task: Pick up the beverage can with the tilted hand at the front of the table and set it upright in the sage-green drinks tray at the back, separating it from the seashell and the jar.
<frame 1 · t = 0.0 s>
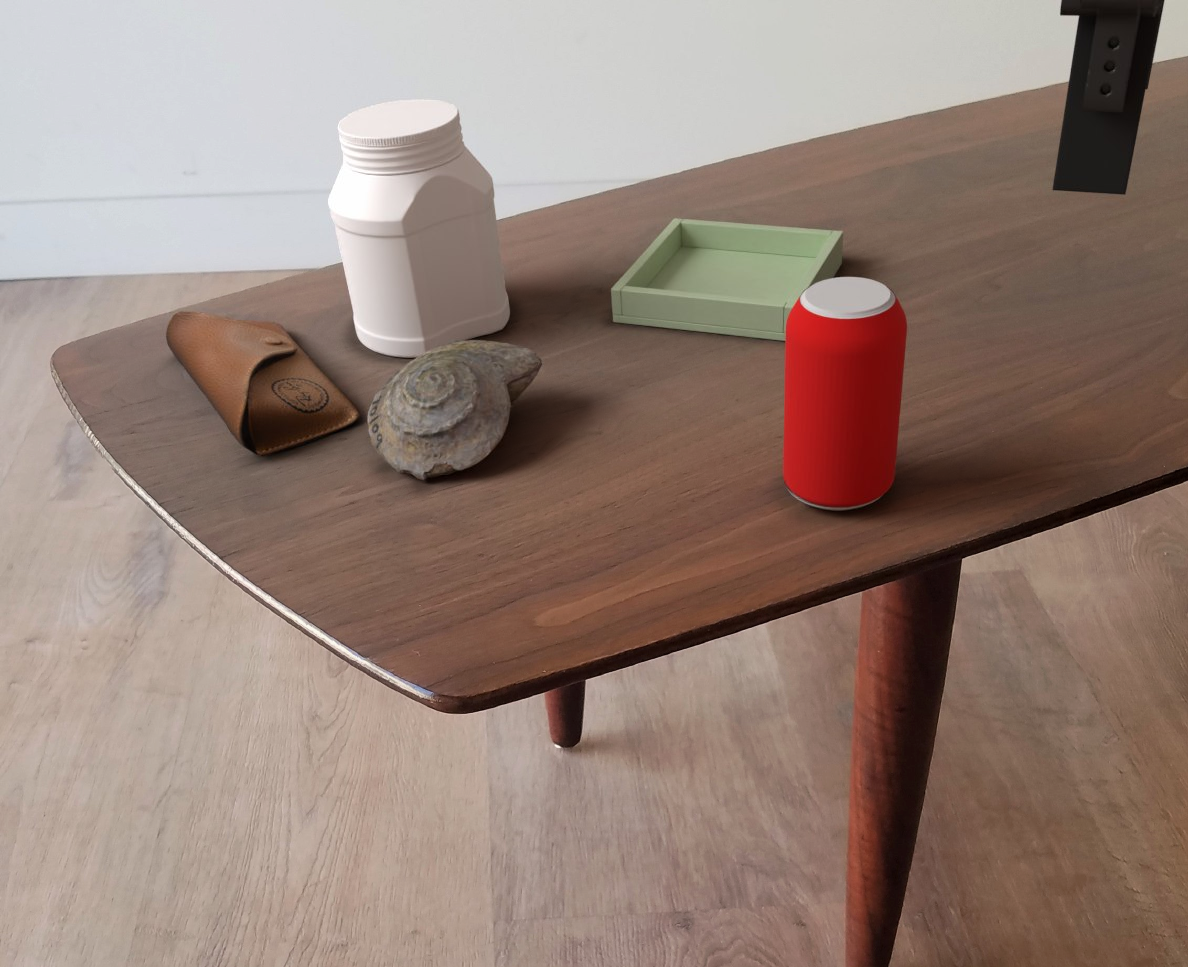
hand: (1104, 134, 53), 21 cm above the table, tool pointing down, fingers open, 13 cm apart
beverage can: (837, 493, 70), on the table
fossilized seashell: (466, 437, 78), on the table
drinks tray: (730, 292, 92), on the table
sunglasses case: (264, 392, 85), on the table
jar: (434, 325, 92), on the table
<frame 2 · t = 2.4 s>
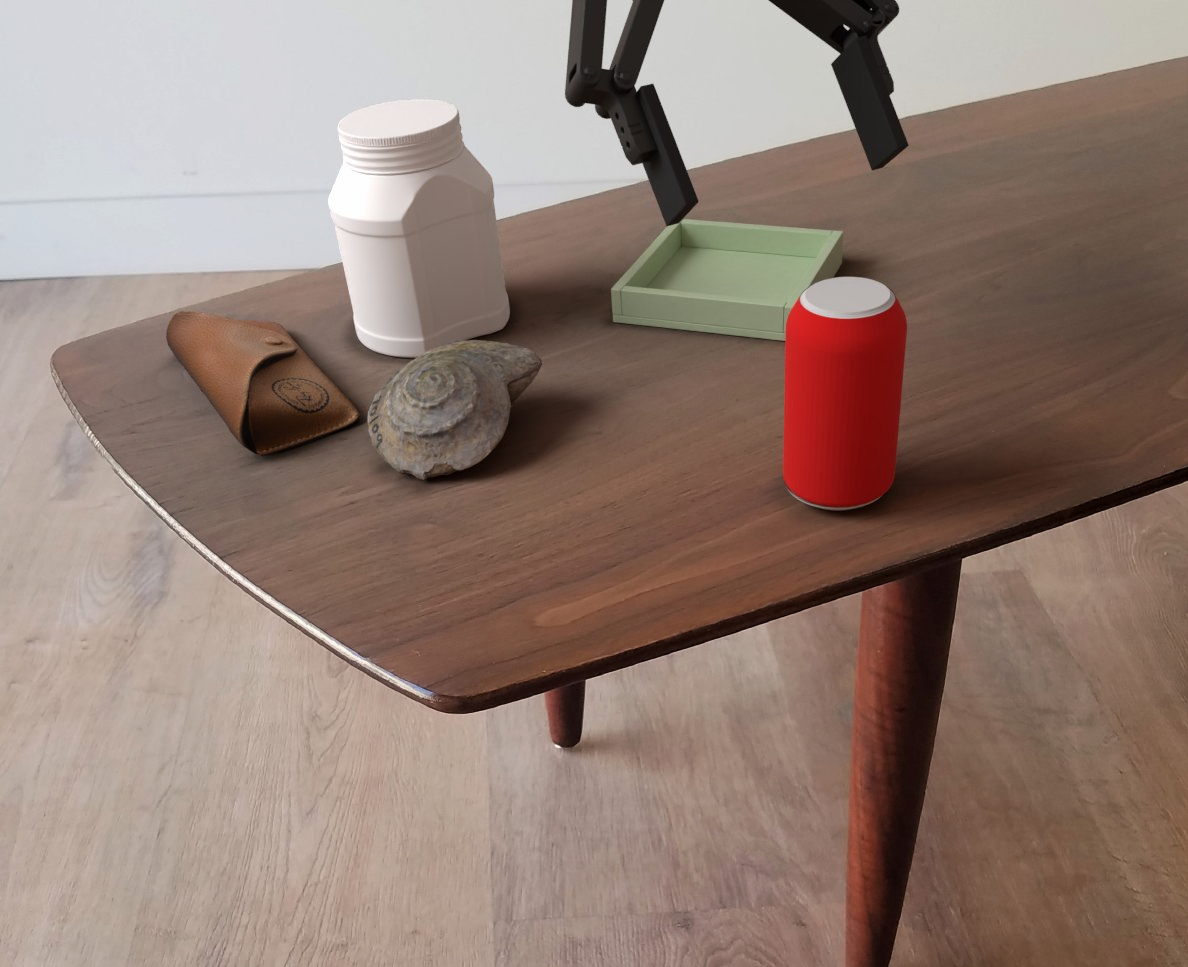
hand: (790, 186, 66), 15 cm above the table, tool tilted 40°, fingers open, 13 cm apart
nothing on the table moved.
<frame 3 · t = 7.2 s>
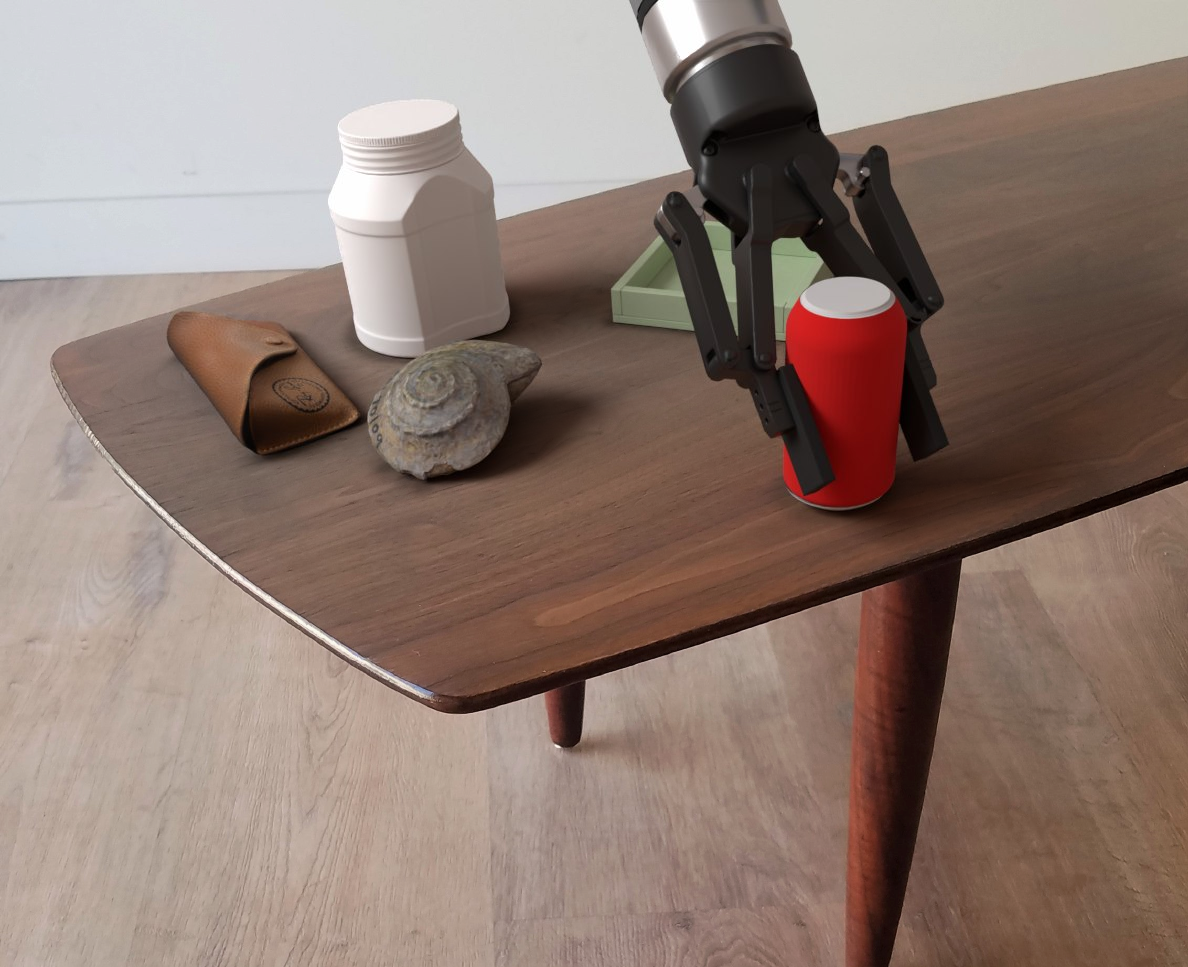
hand: (876, 469, 65), 3 cm above the table, tool tilted 45°, fingers closed on beverage can, 6 cm apart
beverage can: (837, 493, 70), on the table, touching gripper
everything else where it was.
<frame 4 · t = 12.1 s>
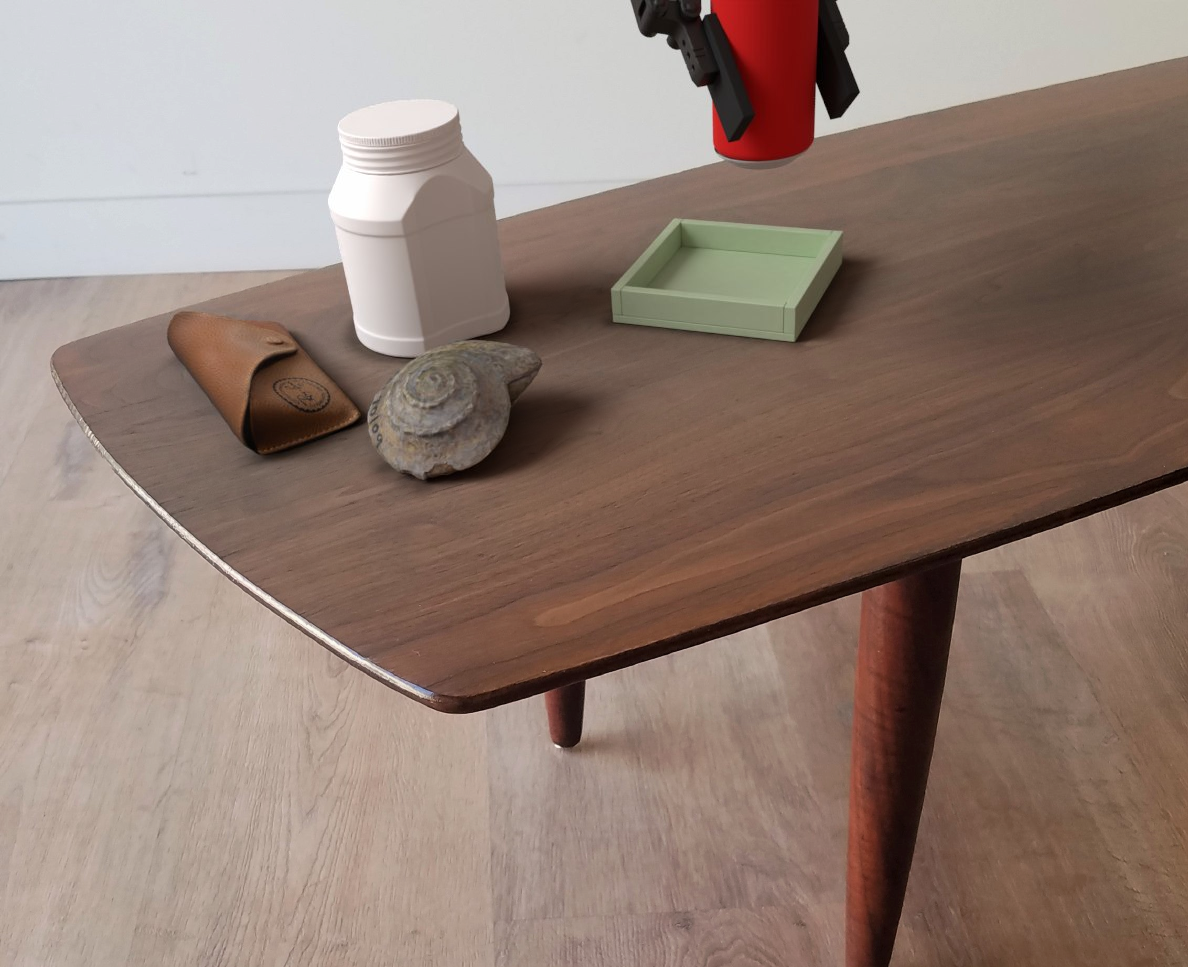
hand: (793, 116, 72), 16 cm above the table, tool tilted 45°, fingers closed on beverage can, 6 cm apart
beverage can: (763, 161, 76), point 13 cm above the table, touching gripper
everything else where it was.
when the fingers open (4 cm above the table, at t = 17.0 s): beverage can stays where it is, resting on drinks tray.
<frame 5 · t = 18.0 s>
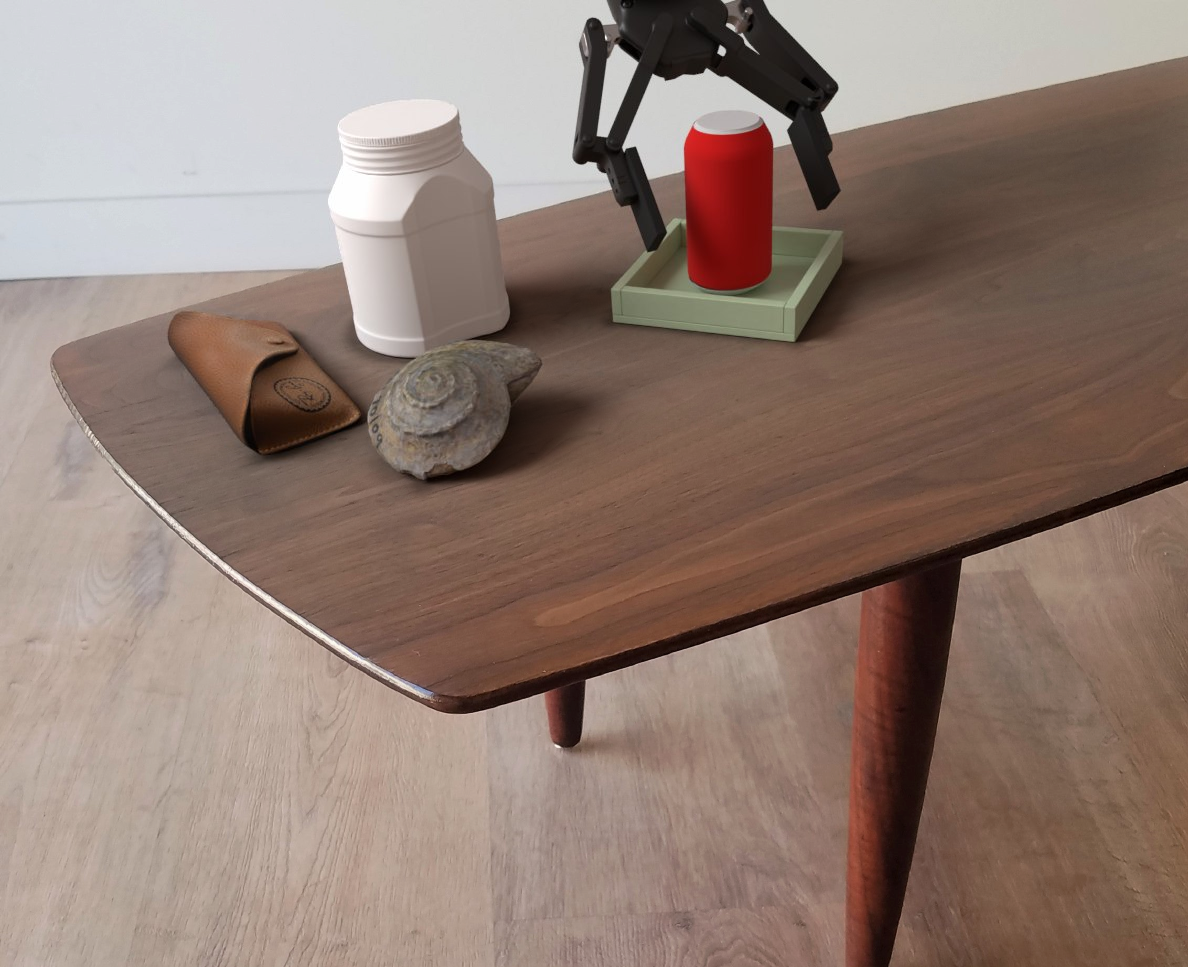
hand: (745, 222, 86), 6 cm above the table, tool tilted 45°, fingers open, 13 cm apart
beverage can: (729, 286, 92), resting on drinks tray
everything else where it was.
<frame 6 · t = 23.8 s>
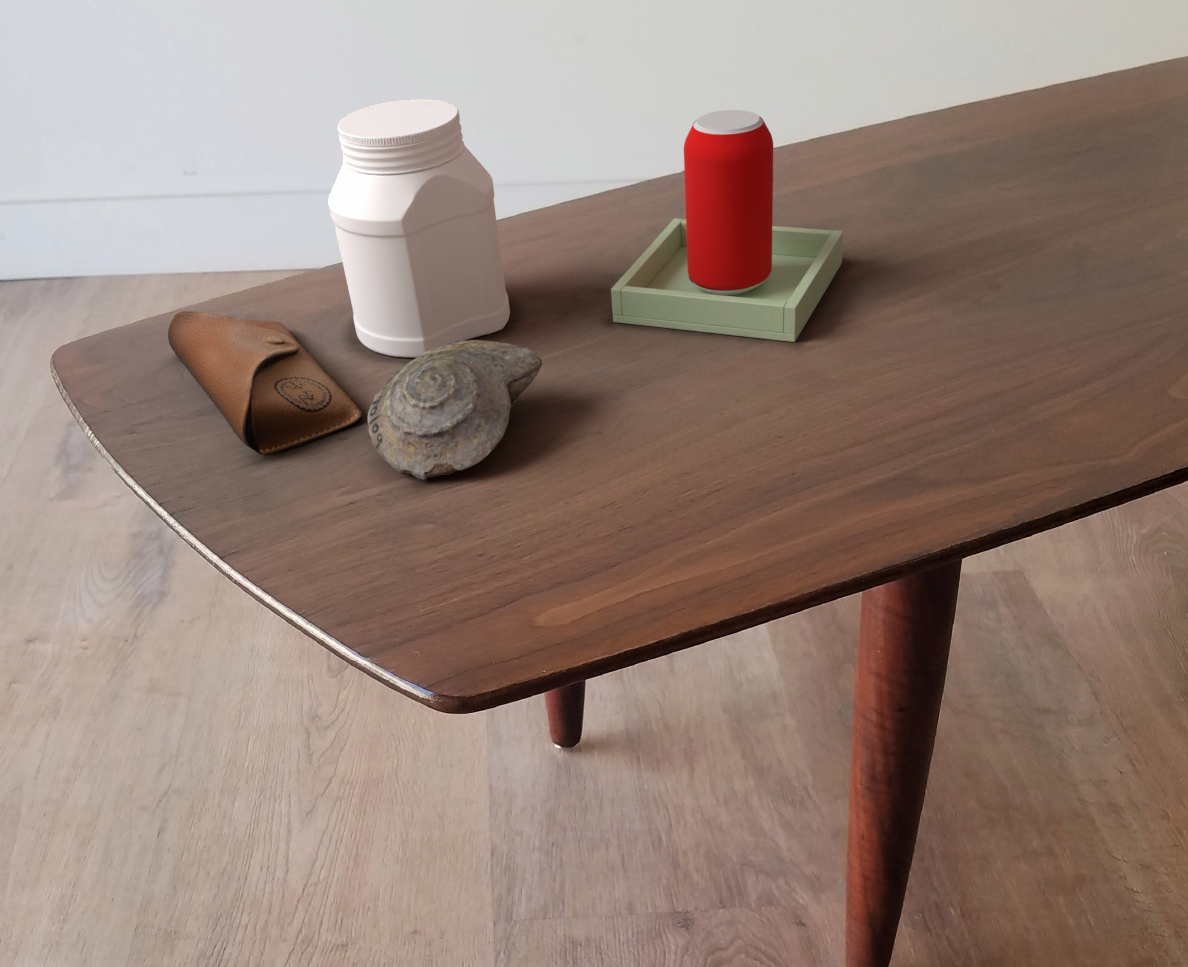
nothing on the table moved.
at the end: beverage can inside the target area in the drinks tray (0.1 cm from its centre), point 0.4 cm above the drinks tray's base; beverage can tilted 0°; the gripper is holding nothing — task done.
